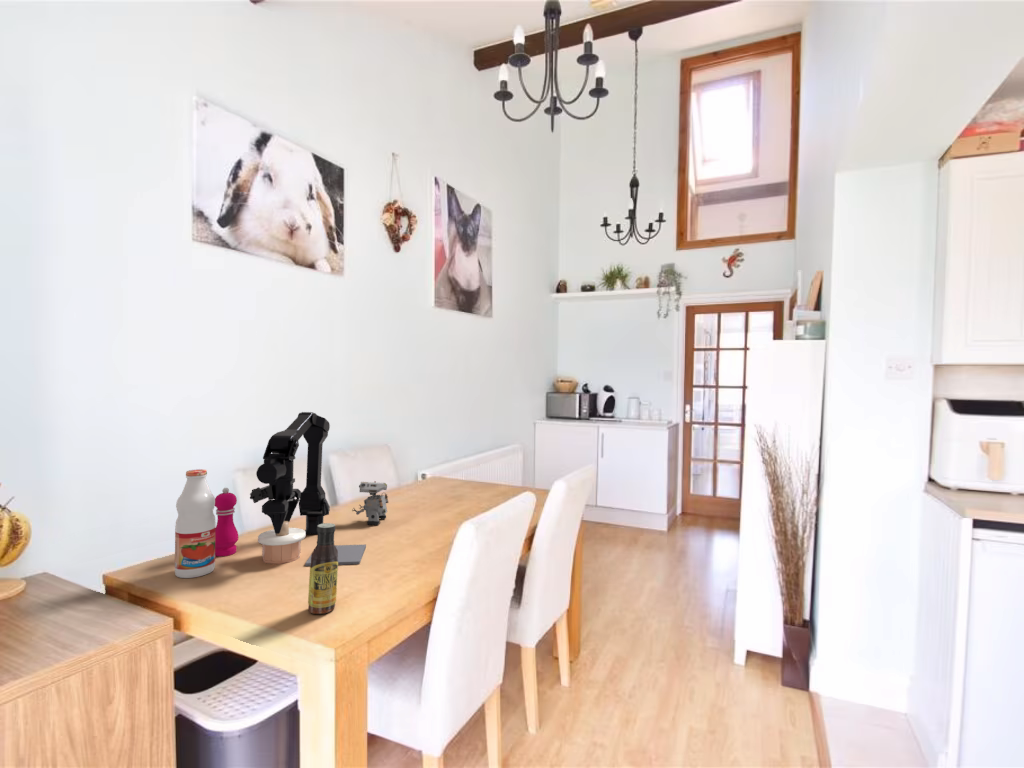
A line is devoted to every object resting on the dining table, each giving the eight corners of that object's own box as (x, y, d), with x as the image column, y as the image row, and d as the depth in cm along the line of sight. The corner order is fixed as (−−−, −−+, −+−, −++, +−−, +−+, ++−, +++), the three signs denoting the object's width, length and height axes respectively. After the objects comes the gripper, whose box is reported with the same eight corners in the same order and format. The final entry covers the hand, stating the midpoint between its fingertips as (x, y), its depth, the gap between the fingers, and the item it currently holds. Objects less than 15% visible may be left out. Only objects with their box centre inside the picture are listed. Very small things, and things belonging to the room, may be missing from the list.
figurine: (361, 517, 195) (361, 479, 195) (390, 519, 194) (390, 480, 194) (351, 524, 186) (352, 484, 186) (382, 526, 185) (383, 485, 185)
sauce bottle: (311, 618, 114) (313, 530, 114) (304, 608, 119) (306, 524, 119) (341, 611, 118) (342, 526, 118) (333, 601, 123) (334, 520, 123)
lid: (266, 532, 157) (266, 517, 156) (310, 531, 159) (310, 516, 159) (251, 546, 144) (251, 529, 144) (299, 544, 146) (299, 528, 146)
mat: (316, 548, 160) (317, 545, 160) (365, 546, 162) (366, 544, 162) (305, 566, 145) (305, 563, 145) (359, 564, 148) (359, 561, 148)
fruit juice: (204, 563, 146) (206, 466, 145) (221, 570, 140) (222, 470, 140) (168, 573, 138) (169, 471, 137) (184, 581, 133) (185, 475, 132)
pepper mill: (226, 558, 150) (227, 491, 150) (205, 556, 151) (206, 489, 151) (243, 550, 157) (244, 486, 157) (223, 548, 159) (224, 484, 158)
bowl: (268, 552, 155) (269, 533, 155) (303, 551, 157) (303, 532, 157) (257, 565, 145) (258, 544, 145) (295, 563, 147) (295, 543, 147)
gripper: (264, 471, 159) (263, 520, 159) (242, 483, 140) (241, 539, 141) (301, 470, 161) (300, 519, 161) (284, 483, 142) (284, 538, 142)
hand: (282, 528), depth 151 cm, fingers open, 9 cm apart
